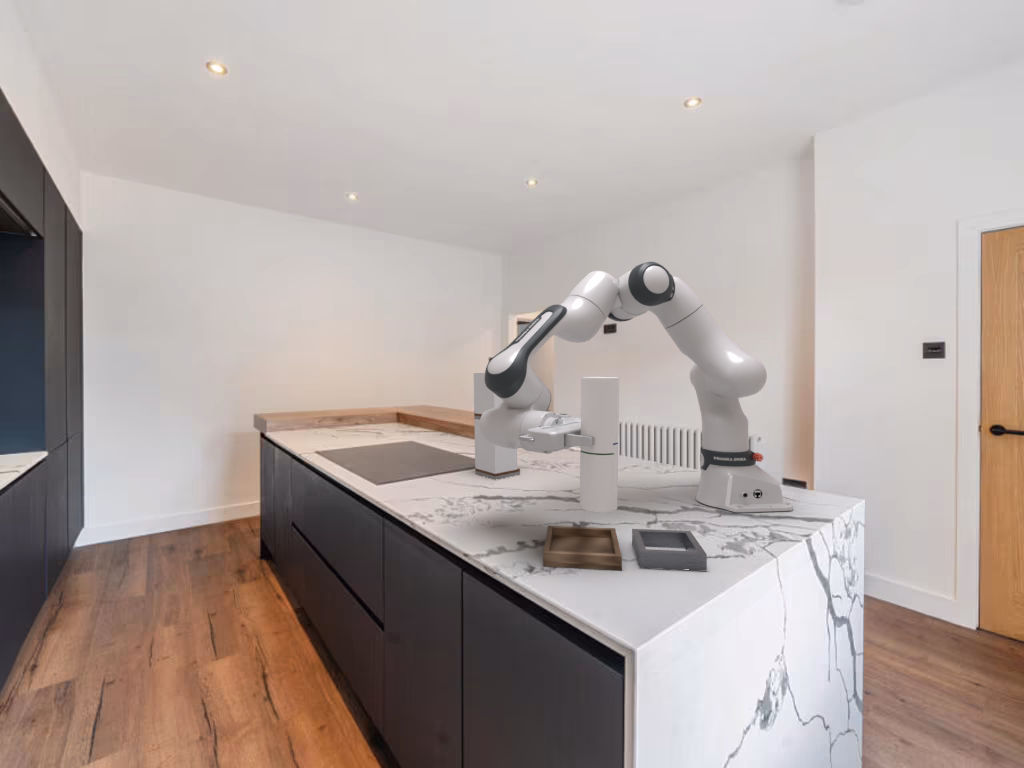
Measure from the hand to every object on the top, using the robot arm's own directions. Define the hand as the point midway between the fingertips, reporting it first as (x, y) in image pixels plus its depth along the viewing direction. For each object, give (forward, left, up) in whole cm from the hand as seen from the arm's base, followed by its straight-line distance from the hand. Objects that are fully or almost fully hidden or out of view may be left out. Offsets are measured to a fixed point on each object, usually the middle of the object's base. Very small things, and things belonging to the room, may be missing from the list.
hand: (603, 438), depth 85 cm
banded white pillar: (+32, -63, -23) cm, 74 cm away
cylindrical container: (+1, 0, -13) cm, 14 cm away
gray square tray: (-12, -1, -23) cm, 25 cm away
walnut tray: (+4, -1, -22) cm, 23 cm away
